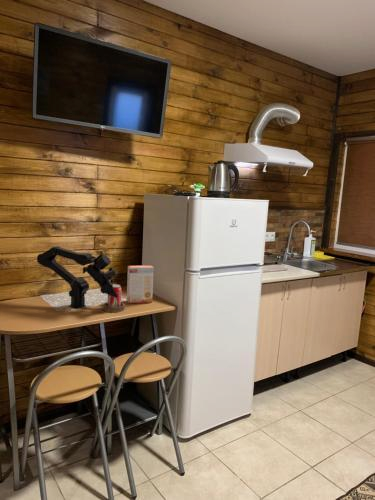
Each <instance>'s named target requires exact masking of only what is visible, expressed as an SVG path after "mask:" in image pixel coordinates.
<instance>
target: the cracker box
mask: <svg viewBox="0 0 375 500" xmlns="http://www.w3.org/2000/svg"><path fill="white" fill-rule="evenodd" d="M154 269H155V268H154V266H153V265H127V279H126V302H127V304H143V303H144V304H146V303H148V304H149V303H153V290H154V272H155V271H154Z"/></svg>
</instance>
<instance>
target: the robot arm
mask: <svg viewBox="0 0 375 500" xmlns="http://www.w3.org/2000/svg"><path fill="white" fill-rule="evenodd" d="M57 256H59V257H62V258H65V259H69V260H73V261H74V262H75V263H76V264H78V265H81V266H83V267H82V274H85V273H87V274H88V275H89V276H90V277H91V278H92V279H93V281H94V282H96V283H97V284H98V285H99V286H98V287H100V290H99V291H100V292H101V293H102V294H106V295H107V296H108V295H111V296H114V297H116V298H117V297H118V295H117V294H116V292H115V291H114V289H113V284H114V281H113V278H114V277H117V276H118V273H117V271H116V268H113V267H108V266H109V265H110V264H111V259H110V257H109V256H107V255H105V254H104V252H102V253H100V254H99V255H98V256H93V254H91V253H90V252H77V251H73V250H70V249H67V248H65V247H64V248H63V247H60V246H58V245H57V246H53V247H51V248H49V249H48V250H46V251H45V252H42V253H39V254H37V257H36V262H37V264H39V265H41V266H42V267H44V268H48V269H50V270H51V271H53V272H54V273H55V274H57V276H59V278H61V279H62V280H64V281H65V282H66V283H68V285H69V286H70V290H69V292H68V295H69V297H70V304H69V305H68V307H71V308H73V309H80V308H85V307H87V305H86V296H85V295H86V294H87V292H88V291H89V289H90V285H89V283H88V280H86V279H85V278H84V277H82V276H79V277H76V276H75V275H74V274H72V273H71V272H70V271H69V270H67V269H66V268H65V267H63V265H62V264H60V263H59V262H57V260H56V258H57ZM86 265H87V266H86ZM107 267H108V270H107V271H104V269H105V268H107Z"/></svg>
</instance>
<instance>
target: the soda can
mask: <svg viewBox="0 0 375 500" xmlns="http://www.w3.org/2000/svg"><path fill="white" fill-rule="evenodd" d="M112 284H113V289H114V291H115V292H116V294H117V295H118V297H117V298H116V297H114V296H111V295H108V294H107V301H106V302H107V304H108V306H109V307H120V305H121V302H122V286H121V284H117V283H112Z"/></svg>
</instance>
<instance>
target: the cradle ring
mask: <svg viewBox="0 0 375 500" xmlns="http://www.w3.org/2000/svg"><path fill="white" fill-rule="evenodd" d="M102 308H103V311H105V312H108V313H121V312H124V311H125V310H126V304H125V302H122V301H121V305H120V307H109V306H108V304H107V301H105V302H104V303H103V307H102Z"/></svg>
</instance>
